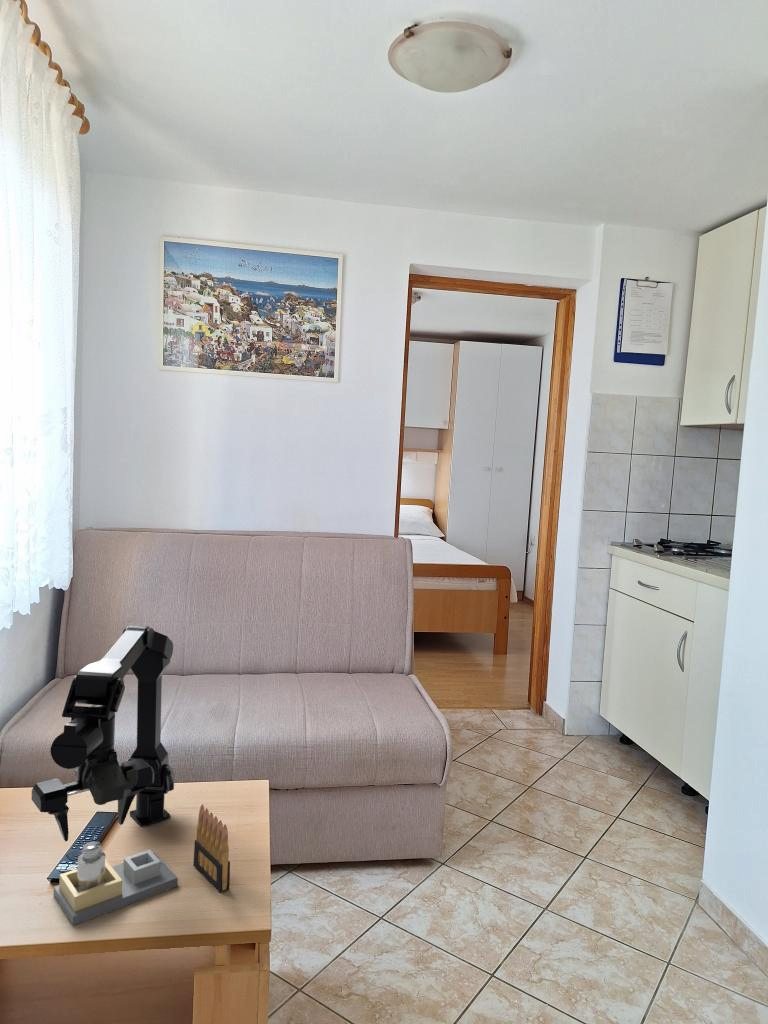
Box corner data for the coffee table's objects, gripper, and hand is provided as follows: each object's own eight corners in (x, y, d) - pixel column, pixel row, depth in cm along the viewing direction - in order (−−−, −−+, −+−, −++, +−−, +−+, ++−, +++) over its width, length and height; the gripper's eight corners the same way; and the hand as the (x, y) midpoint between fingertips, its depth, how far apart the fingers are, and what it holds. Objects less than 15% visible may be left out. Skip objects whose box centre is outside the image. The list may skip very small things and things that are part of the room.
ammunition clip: (229, 889, 125) (232, 825, 125) (220, 893, 124) (223, 828, 123) (202, 862, 134) (204, 801, 133) (193, 865, 132) (195, 803, 131)
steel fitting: (72, 889, 121) (74, 844, 120) (98, 880, 124) (100, 836, 123) (81, 902, 117) (83, 856, 117) (108, 892, 120) (110, 848, 120)
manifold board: (53, 894, 121) (54, 872, 121) (154, 860, 133) (154, 839, 133) (72, 925, 114) (73, 901, 114) (177, 885, 126) (178, 864, 125)
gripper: (52, 774, 107) (50, 873, 108) (169, 746, 119) (166, 835, 120) (31, 749, 115) (29, 841, 116) (142, 725, 128) (140, 808, 129)
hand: (93, 831), depth 120 cm, fingers open, 9 cm apart
